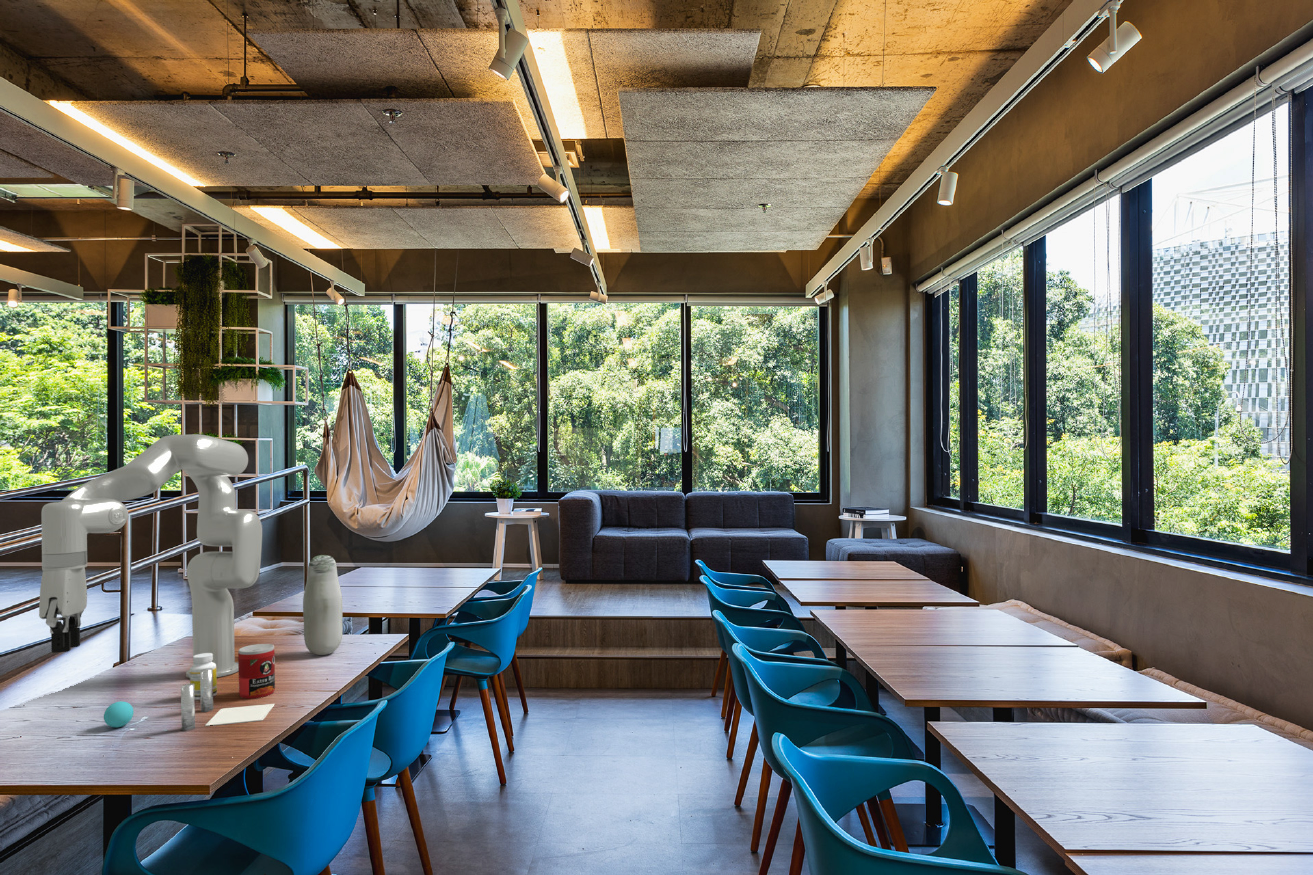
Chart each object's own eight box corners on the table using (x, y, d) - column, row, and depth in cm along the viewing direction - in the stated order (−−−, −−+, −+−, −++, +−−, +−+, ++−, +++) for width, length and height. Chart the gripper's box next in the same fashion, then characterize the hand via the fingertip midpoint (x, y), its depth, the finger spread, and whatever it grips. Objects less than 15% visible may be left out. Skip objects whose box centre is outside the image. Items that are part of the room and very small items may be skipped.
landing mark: (221, 709, 174) (221, 708, 174) (274, 704, 176) (274, 703, 176) (205, 726, 163) (205, 725, 163) (262, 720, 166) (262, 719, 166)
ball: (110, 723, 166) (110, 699, 166) (137, 721, 167) (137, 696, 167) (99, 732, 161) (98, 707, 161) (127, 729, 162) (127, 704, 162)
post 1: (183, 727, 163) (183, 684, 163) (196, 725, 163) (196, 682, 163) (179, 731, 160) (179, 687, 160) (192, 729, 161) (192, 686, 161)
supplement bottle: (213, 691, 188) (212, 650, 188) (219, 696, 184) (219, 654, 184) (187, 696, 184) (187, 655, 184) (194, 701, 180) (193, 659, 180)
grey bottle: (299, 654, 221) (297, 555, 221) (335, 647, 228) (333, 551, 228) (311, 660, 214) (309, 558, 214) (348, 653, 221) (346, 554, 221)
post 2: (202, 708, 174) (202, 668, 175) (214, 707, 175) (214, 667, 175) (199, 712, 172) (198, 671, 172) (211, 711, 173) (210, 670, 173)
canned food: (251, 701, 179) (250, 653, 179) (231, 696, 184) (231, 649, 184) (282, 692, 186) (281, 645, 186) (262, 687, 190) (262, 642, 190)
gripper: (63, 557, 169) (65, 641, 169) (22, 567, 153) (23, 661, 153) (103, 555, 171) (104, 638, 171) (66, 565, 155) (67, 657, 155)
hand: (66, 648), depth 162 cm, fingers open, 3 cm apart
